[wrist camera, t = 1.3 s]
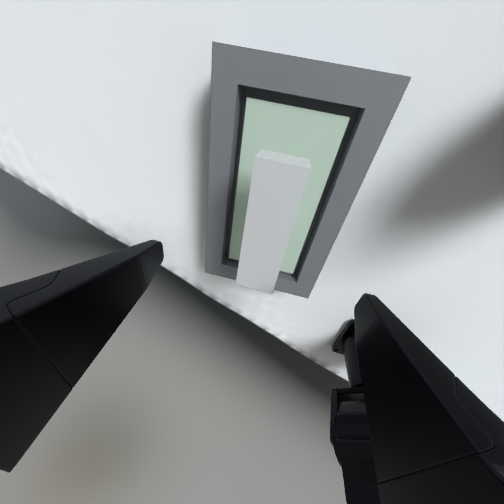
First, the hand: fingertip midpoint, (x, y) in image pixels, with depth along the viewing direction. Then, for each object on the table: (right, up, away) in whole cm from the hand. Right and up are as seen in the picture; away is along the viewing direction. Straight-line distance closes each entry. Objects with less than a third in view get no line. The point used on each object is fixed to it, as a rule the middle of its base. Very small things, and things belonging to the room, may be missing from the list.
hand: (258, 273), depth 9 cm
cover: (+2, +5, +7) cm, 9 cm away
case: (+2, +6, +9) cm, 11 cm away
